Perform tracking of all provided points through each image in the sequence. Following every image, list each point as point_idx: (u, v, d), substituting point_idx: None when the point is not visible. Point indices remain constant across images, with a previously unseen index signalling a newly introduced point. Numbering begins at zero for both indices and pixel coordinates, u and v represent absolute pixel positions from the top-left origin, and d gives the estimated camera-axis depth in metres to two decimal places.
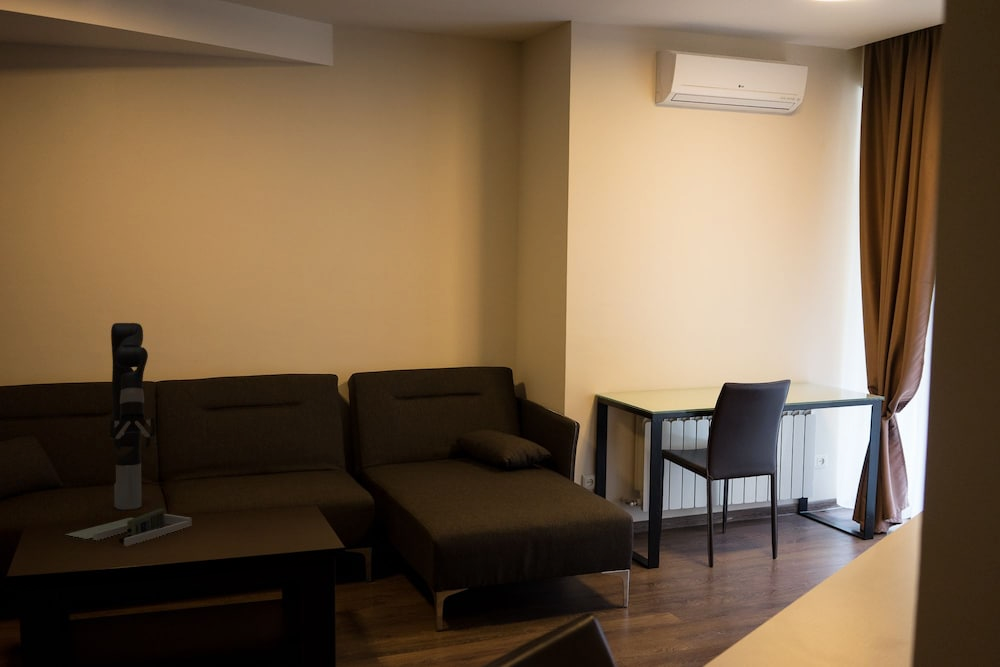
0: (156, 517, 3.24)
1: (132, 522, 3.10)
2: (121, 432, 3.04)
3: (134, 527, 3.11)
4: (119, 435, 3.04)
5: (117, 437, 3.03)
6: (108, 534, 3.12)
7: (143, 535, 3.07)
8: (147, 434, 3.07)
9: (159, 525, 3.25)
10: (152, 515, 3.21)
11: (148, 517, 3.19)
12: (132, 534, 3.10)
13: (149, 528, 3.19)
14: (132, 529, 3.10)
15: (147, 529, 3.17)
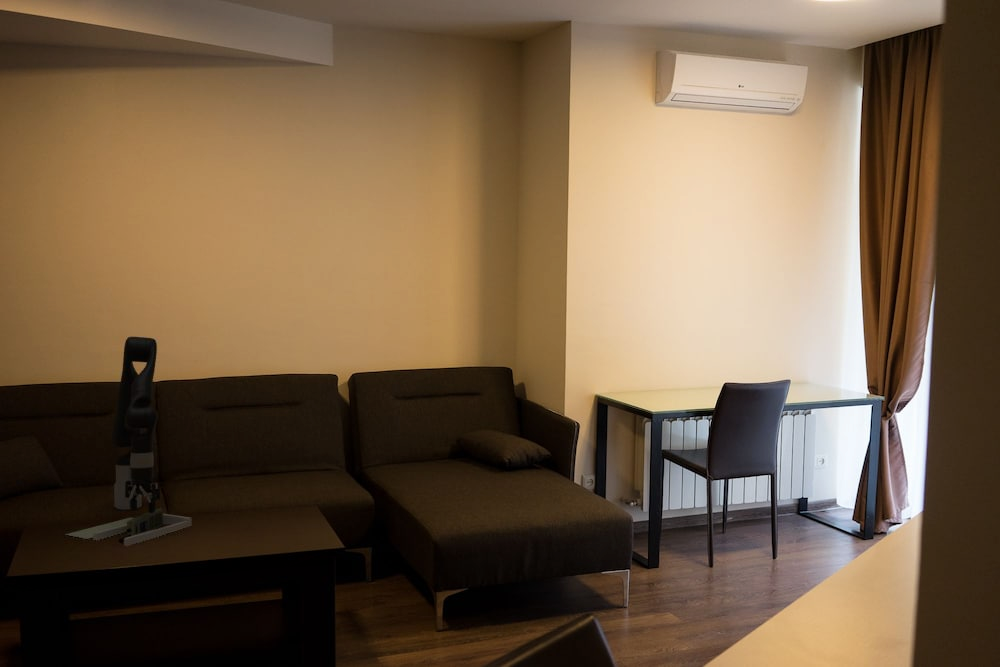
0: (155, 517, 3.24)
1: (132, 522, 3.10)
2: (131, 494, 3.17)
3: (134, 527, 3.11)
4: (131, 496, 3.17)
5: (129, 498, 3.17)
6: (108, 534, 3.12)
7: (143, 535, 3.07)
8: (149, 499, 3.13)
9: (158, 525, 3.25)
10: (151, 515, 3.21)
11: (147, 517, 3.19)
12: (132, 534, 3.10)
13: (148, 528, 3.19)
14: (132, 529, 3.10)
15: (146, 529, 3.18)
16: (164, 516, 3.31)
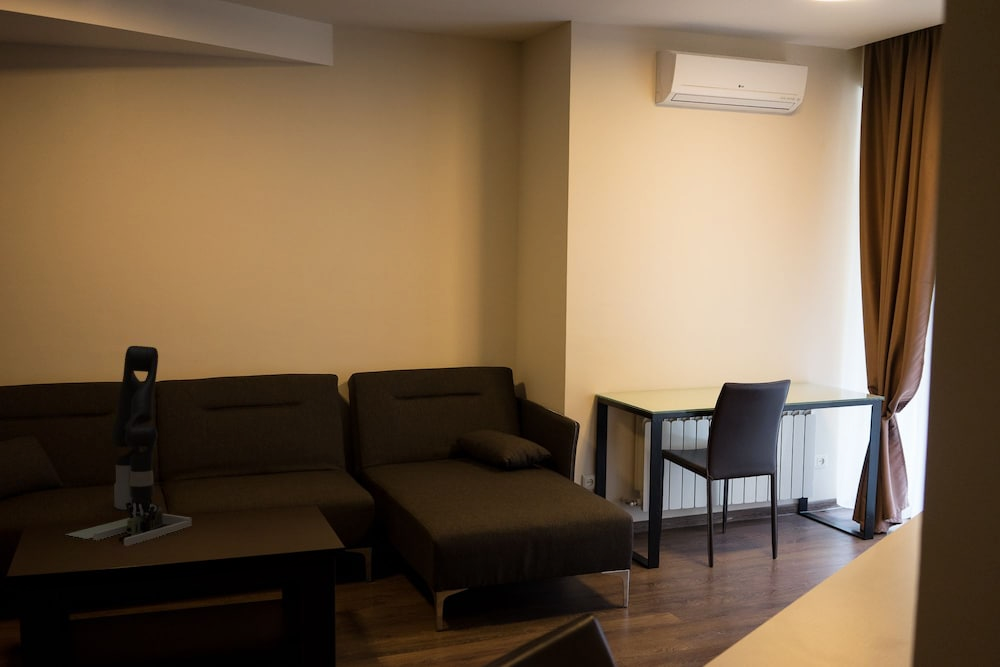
0: (155, 517, 3.24)
1: (132, 521, 3.10)
2: (134, 514, 3.16)
3: (134, 526, 3.10)
4: None
5: None
6: (108, 534, 3.12)
7: (143, 535, 3.07)
8: (143, 520, 3.15)
9: (157, 524, 3.25)
10: None
11: None
12: (132, 533, 3.10)
13: None
14: (132, 528, 3.10)
15: None
16: (164, 516, 3.31)
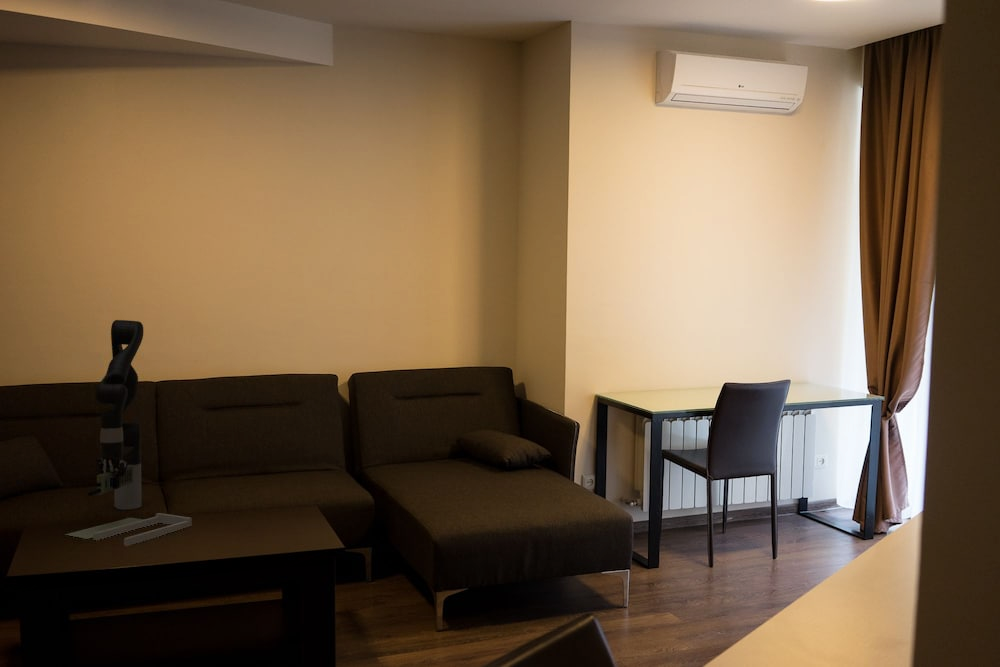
0: (125, 473, 3.30)
1: (102, 477, 3.17)
2: (104, 471, 3.23)
3: (103, 482, 3.17)
4: None
5: None
6: (108, 534, 3.12)
7: (143, 535, 3.07)
8: (113, 476, 3.21)
9: (128, 481, 3.32)
10: None
11: None
12: (101, 488, 3.17)
13: None
14: (101, 483, 3.17)
15: None
16: (164, 516, 3.31)
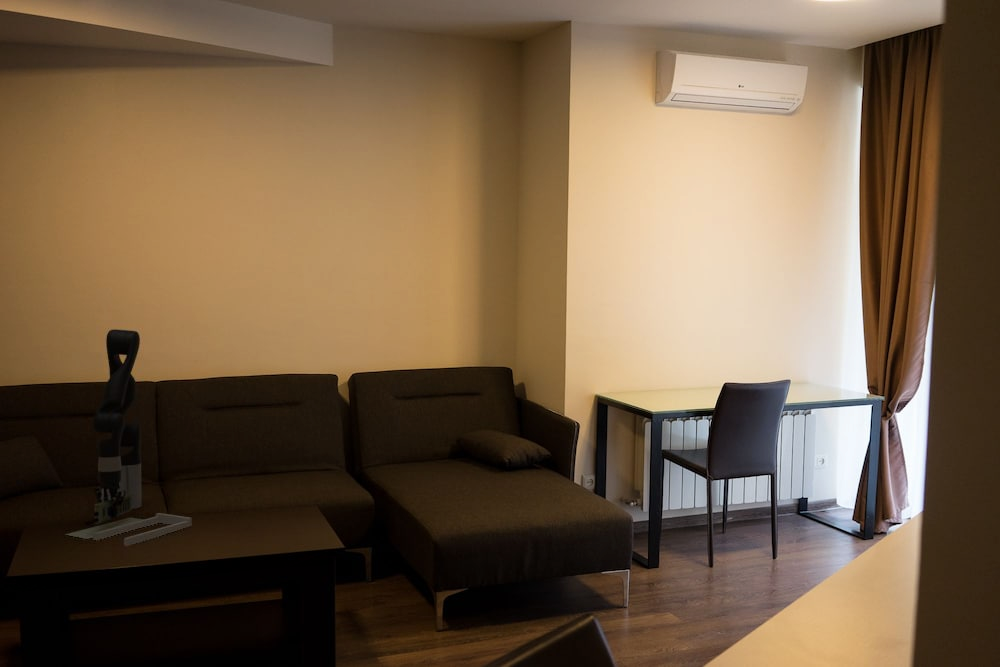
0: (123, 502, 3.31)
1: (99, 506, 3.17)
2: (102, 499, 3.23)
3: (101, 511, 3.17)
4: None
5: None
6: (108, 534, 3.12)
7: (143, 535, 3.07)
8: (111, 505, 3.22)
9: (126, 509, 3.32)
10: None
11: None
12: (99, 517, 3.17)
13: None
14: (99, 513, 3.17)
15: None
16: (164, 516, 3.31)
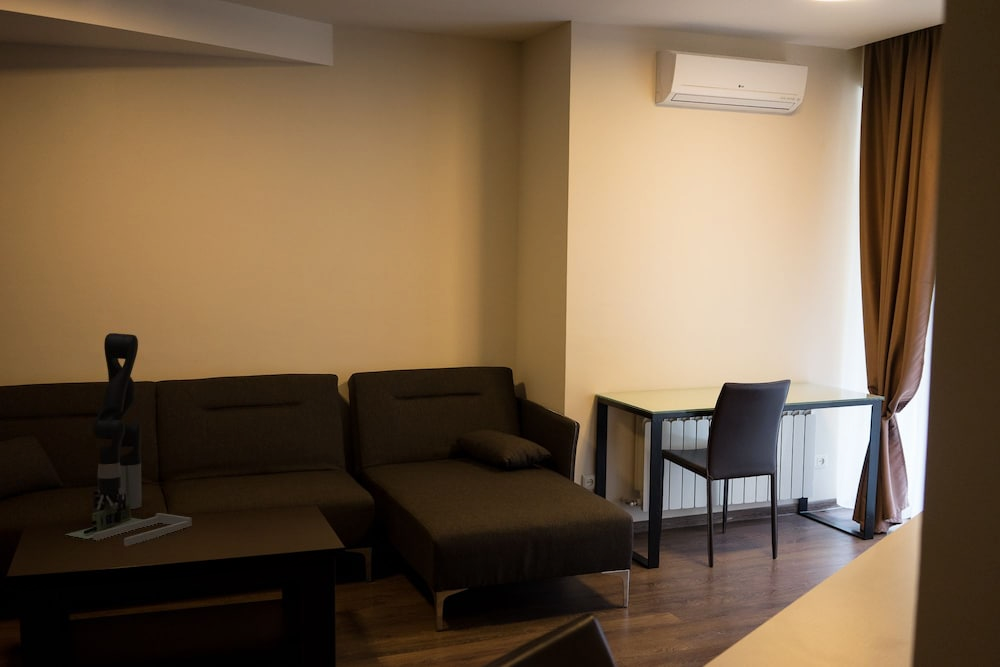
0: None
1: (97, 514, 3.17)
2: (99, 504, 3.24)
3: (99, 519, 3.18)
4: (99, 506, 3.24)
5: (98, 508, 3.25)
6: (108, 534, 3.12)
7: (143, 535, 3.07)
8: (115, 509, 3.21)
9: (125, 518, 3.32)
10: None
11: None
12: (97, 526, 3.17)
13: None
14: (97, 521, 3.17)
15: (113, 521, 3.25)
16: (164, 516, 3.31)
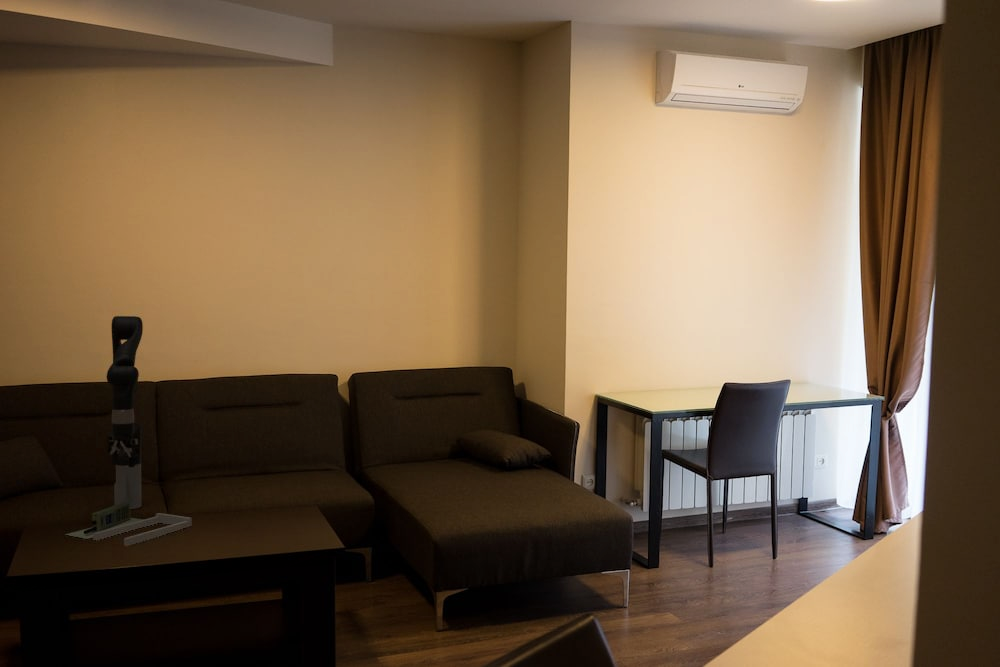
0: (122, 510, 3.31)
1: (97, 514, 3.17)
2: (113, 449, 3.29)
3: (99, 519, 3.18)
4: (112, 451, 3.29)
5: (111, 453, 3.30)
6: (108, 534, 3.12)
7: (143, 535, 3.07)
8: (129, 454, 3.25)
9: (125, 518, 3.33)
10: (118, 508, 3.28)
11: (113, 510, 3.26)
12: (97, 526, 3.17)
13: (114, 520, 3.26)
14: (97, 521, 3.17)
15: (112, 521, 3.25)
16: (164, 516, 3.31)
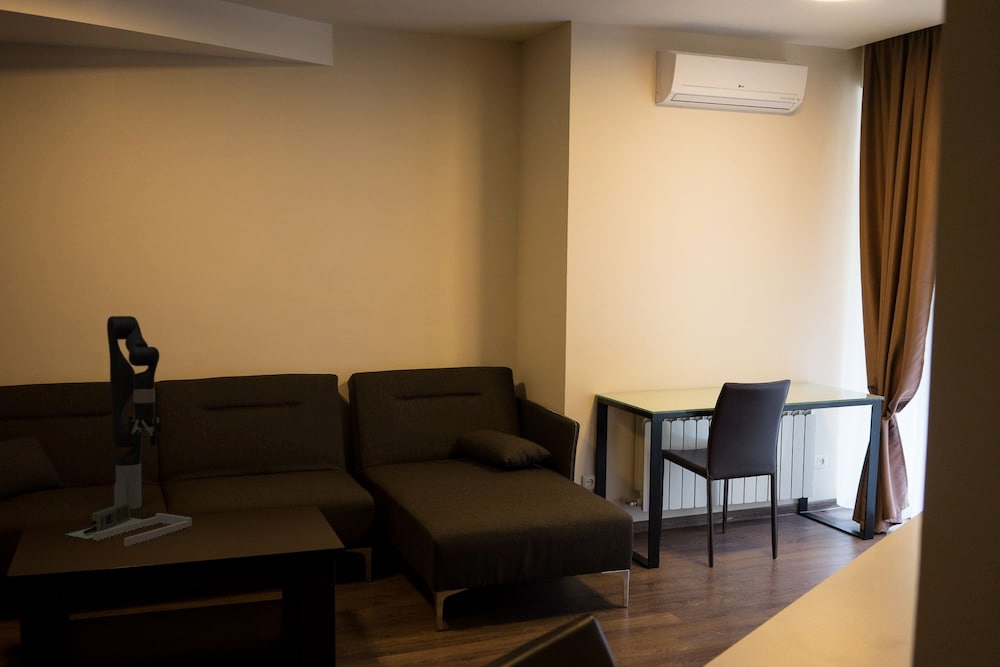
0: (122, 510, 3.31)
1: (97, 514, 3.17)
2: (134, 428, 3.36)
3: (99, 519, 3.18)
4: (133, 430, 3.37)
5: (132, 432, 3.37)
6: (108, 534, 3.12)
7: (143, 535, 3.07)
8: (150, 433, 3.33)
9: (125, 518, 3.33)
10: (117, 508, 3.28)
11: (113, 510, 3.26)
12: (97, 526, 3.17)
13: (114, 520, 3.26)
14: (97, 521, 3.17)
15: (112, 521, 3.25)
16: (164, 516, 3.31)
